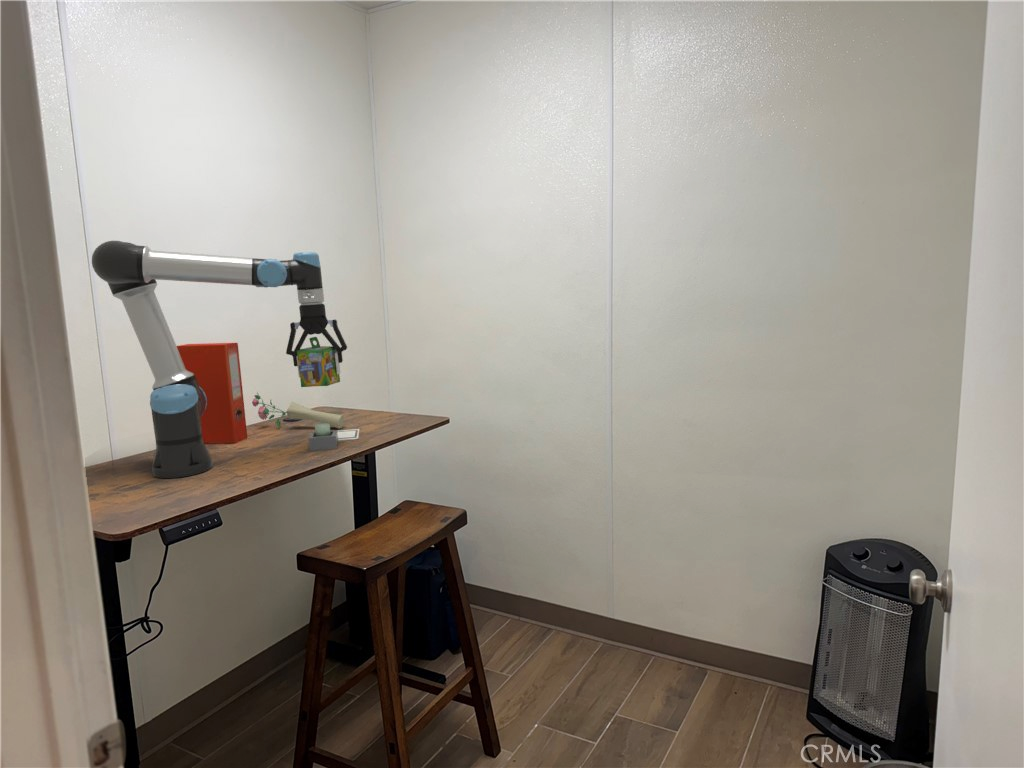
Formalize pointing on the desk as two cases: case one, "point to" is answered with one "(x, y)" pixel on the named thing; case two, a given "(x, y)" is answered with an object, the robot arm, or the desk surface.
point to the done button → (322, 429)
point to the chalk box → (317, 365)
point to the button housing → (323, 441)
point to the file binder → (218, 389)
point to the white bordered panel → (348, 434)
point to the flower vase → (300, 414)
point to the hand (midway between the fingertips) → (319, 375)
